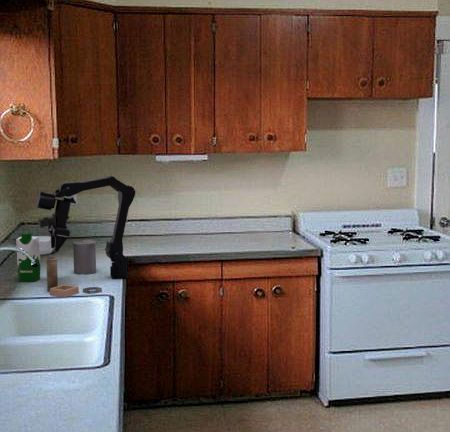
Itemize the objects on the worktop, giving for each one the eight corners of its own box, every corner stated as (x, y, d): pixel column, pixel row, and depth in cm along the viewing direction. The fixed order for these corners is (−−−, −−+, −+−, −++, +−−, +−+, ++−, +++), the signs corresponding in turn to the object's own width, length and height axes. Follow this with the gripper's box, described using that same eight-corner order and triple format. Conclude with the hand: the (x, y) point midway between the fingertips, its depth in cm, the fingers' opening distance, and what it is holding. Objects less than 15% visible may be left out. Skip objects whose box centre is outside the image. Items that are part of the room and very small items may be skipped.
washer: (101, 288, 257) (101, 286, 257) (102, 292, 250) (102, 290, 250) (82, 289, 255) (82, 287, 255) (83, 293, 249) (83, 291, 248)
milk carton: (16, 282, 269) (13, 234, 266) (22, 277, 278) (20, 231, 275) (37, 282, 269) (35, 234, 267) (42, 277, 278) (41, 231, 276)
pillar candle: (72, 271, 291) (71, 237, 289) (94, 269, 294) (93, 236, 292) (75, 275, 282) (74, 241, 280) (98, 273, 285) (97, 240, 283)
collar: (63, 290, 254) (63, 284, 253) (78, 293, 250) (78, 286, 250) (49, 295, 247) (49, 288, 247) (65, 297, 243) (64, 290, 243)
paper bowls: (58, 254, 331) (58, 239, 330) (27, 257, 326) (26, 241, 325) (54, 250, 345) (54, 235, 344) (25, 252, 340) (24, 237, 339)
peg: (58, 289, 256) (57, 256, 254) (58, 292, 252) (57, 258, 250) (47, 290, 255) (45, 257, 253) (46, 292, 251) (45, 259, 249)
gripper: (38, 206, 270) (31, 243, 270) (45, 211, 253) (37, 250, 253) (65, 211, 275) (57, 247, 275) (73, 216, 258) (66, 254, 258)
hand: (54, 249), depth 265 cm, fingers open, 9 cm apart
